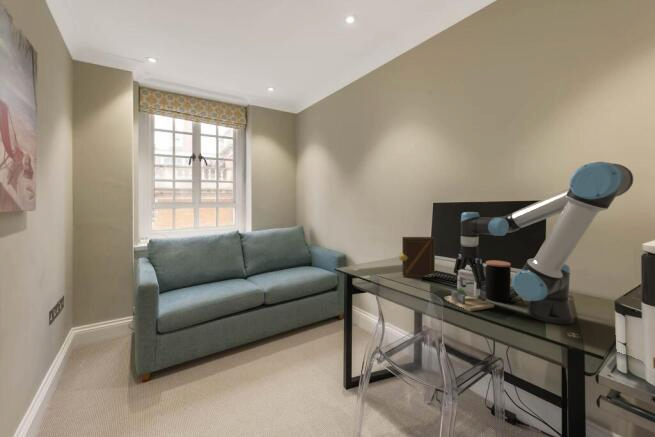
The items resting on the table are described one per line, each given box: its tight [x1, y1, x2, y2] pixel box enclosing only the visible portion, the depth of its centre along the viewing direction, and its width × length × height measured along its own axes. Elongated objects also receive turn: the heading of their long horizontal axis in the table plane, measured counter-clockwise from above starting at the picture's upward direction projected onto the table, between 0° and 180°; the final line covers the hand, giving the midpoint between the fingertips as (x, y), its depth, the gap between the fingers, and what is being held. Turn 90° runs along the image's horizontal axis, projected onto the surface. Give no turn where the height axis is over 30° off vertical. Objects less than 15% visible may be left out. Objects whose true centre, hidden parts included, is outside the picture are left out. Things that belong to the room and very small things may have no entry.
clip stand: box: [444, 290, 495, 312], centre depth 136 cm, size 16×14×6 cm
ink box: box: [457, 268, 479, 298], centre depth 136 cm, size 9×5×12 cm, turn 51°
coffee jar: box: [484, 259, 512, 303], centre depth 141 cm, size 11×11×18 cm
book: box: [398, 236, 436, 279], centre depth 184 cm, size 22×8×25 cm, turn 82°
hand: (468, 291), depth 136 cm, fingers closed on ink box, 9 cm apart
